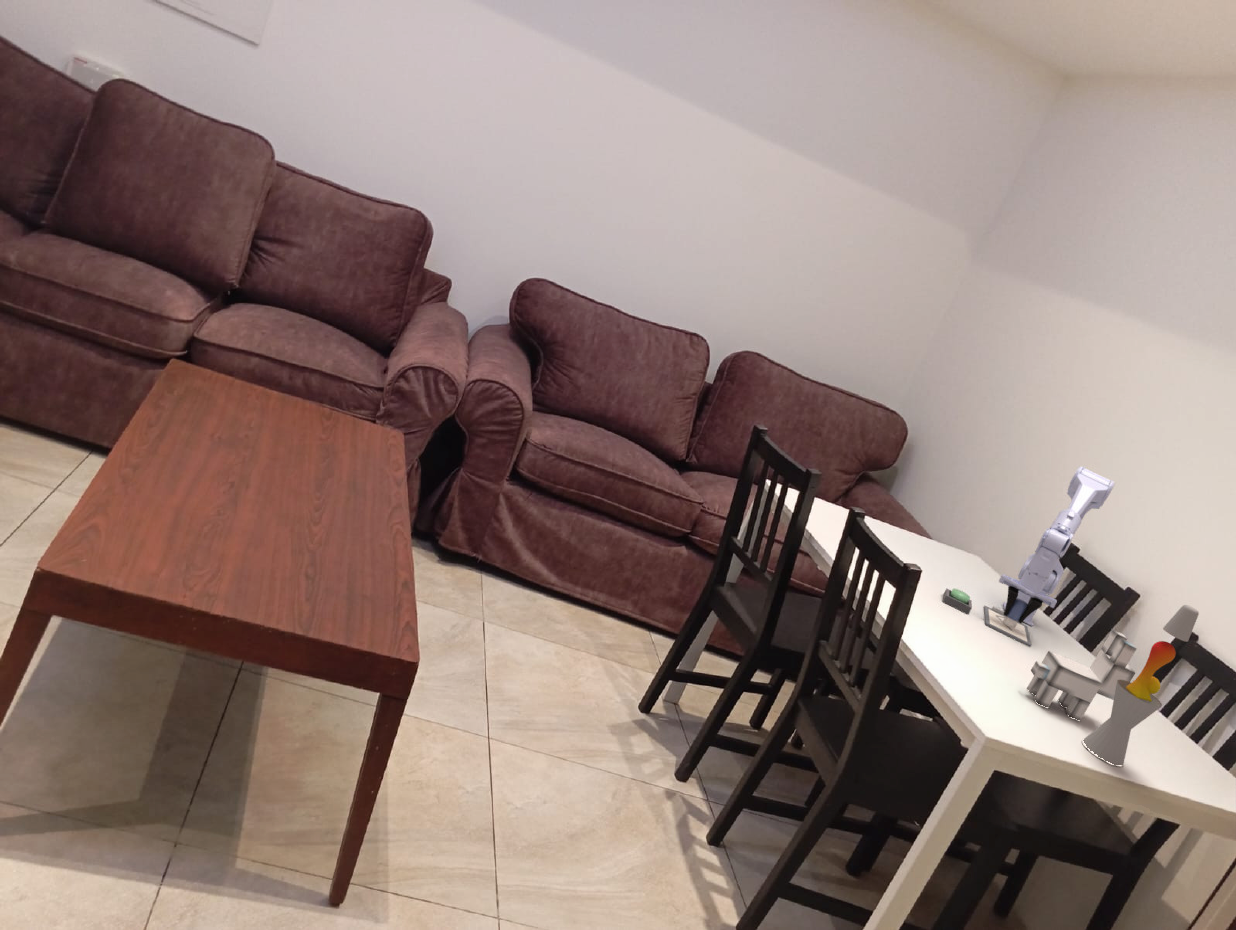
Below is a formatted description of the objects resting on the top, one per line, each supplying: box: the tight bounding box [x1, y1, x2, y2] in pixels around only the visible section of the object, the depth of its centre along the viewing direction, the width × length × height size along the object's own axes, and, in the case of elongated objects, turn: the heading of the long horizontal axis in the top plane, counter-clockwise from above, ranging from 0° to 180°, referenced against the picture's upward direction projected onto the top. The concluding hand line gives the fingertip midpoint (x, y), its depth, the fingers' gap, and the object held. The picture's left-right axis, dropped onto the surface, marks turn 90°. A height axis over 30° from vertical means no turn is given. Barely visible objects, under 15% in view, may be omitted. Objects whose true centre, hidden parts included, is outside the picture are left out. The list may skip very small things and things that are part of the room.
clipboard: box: [983, 605, 1032, 648], centre depth 268 cm, size 16×12×2 cm
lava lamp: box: [1082, 604, 1200, 766], centre depth 205 cm, size 9×9×35 cm
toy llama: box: [1026, 629, 1137, 721], centre depth 223 cm, size 8×18×20 cm, turn 85°
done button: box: [949, 588, 971, 605], centre depth 268 cm, size 5×5×2 cm
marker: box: [1003, 598, 1028, 628], centre depth 265 cm, size 3×3×7 cm
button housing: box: [942, 587, 973, 615], centre depth 269 cm, size 7×7×2 cm
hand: (1012, 618), depth 265 cm, fingers closed on marker, 3 cm apart
